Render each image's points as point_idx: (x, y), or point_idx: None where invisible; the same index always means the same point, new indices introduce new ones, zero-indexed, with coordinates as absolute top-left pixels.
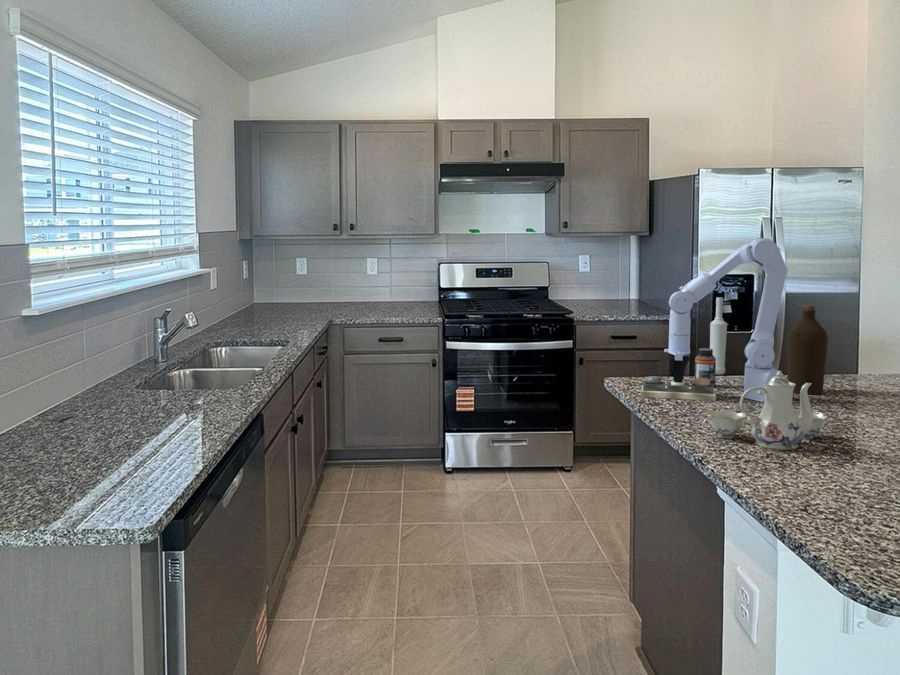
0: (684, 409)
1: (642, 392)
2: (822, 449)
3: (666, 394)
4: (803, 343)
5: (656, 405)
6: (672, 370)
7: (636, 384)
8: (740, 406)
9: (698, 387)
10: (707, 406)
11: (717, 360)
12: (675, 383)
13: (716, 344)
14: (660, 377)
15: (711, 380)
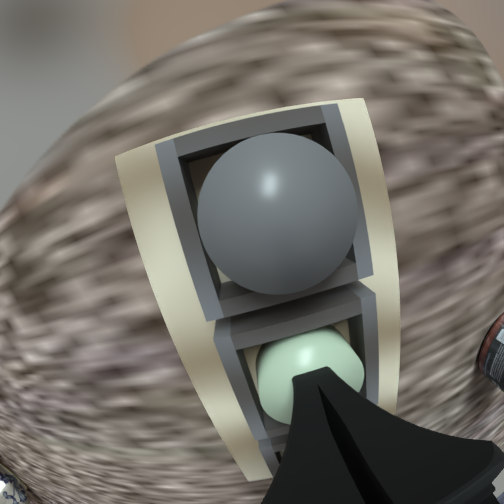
0: (42, 399)
1: (119, 169)
2: (34, 499)
3: (167, 322)
4: None
5: (18, 303)
6: (287, 446)
7: (460, 73)
8: None
9: (268, 463)
10: (134, 455)
11: None
12: (259, 389)
13: None
14: (306, 276)
15: (492, 381)
